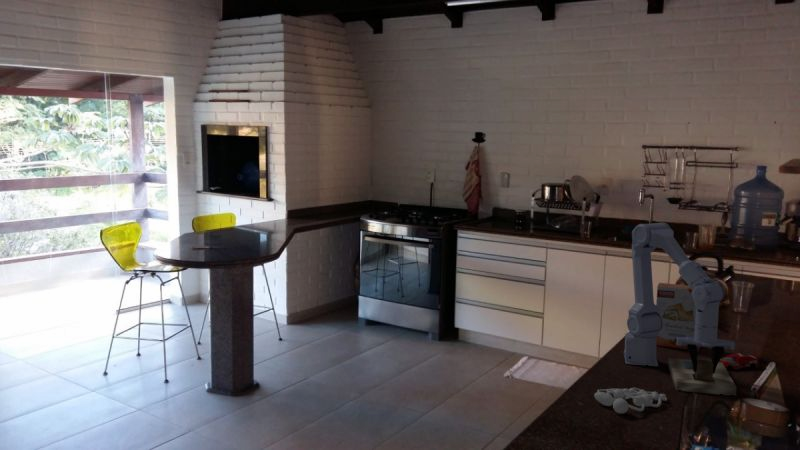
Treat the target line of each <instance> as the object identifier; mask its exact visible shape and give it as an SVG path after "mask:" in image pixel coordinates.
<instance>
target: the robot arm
mask: <svg viewBox="0 0 800 450" xmlns="http://www.w3.org/2000/svg"><path fill="white" fill-rule="evenodd" d="M674 233H675V232H674V230H673V229H672V228H671V227H670V225H669V224H668V223H666V222H655V223H639V224H637V225H636V226H635V227H634V228H633V230H632V231H631V238H632V239H631V240H632V244H631V257H632V258H631V260H632V262H631V263H632V275H633V289H634V290H633V291H634V304H633V305H632V306H631V307H630V308H629V309H628V316H627V321H626V326H627V329H628V331H629V332H625V335H624V336H625V337H624V338H625V339H624V350H623V356H624V362H625V364H626V365H633V366H634V365H635V366H646V365H648V366H647V367H649V366H650V367H659V363H658V360H657V346H658V345H657V335H658V334H659V331H660V330H661V329H662V328H663V319H662V316H661V313H660V308H659V307H657V306H656V303H655V301H654V285H653V283H654V282H653V269H652V253H653V252H654V250H655V249H656V248H658V249H662V250H663V251H664V252H665V253H666V254H667V256H668V257H670V259H671V260H672V261H673V262H674V263H675V264H676V265H677V266H678V274H679V275H680V277H681V278H682V279H683V281H685V283H686V284H687V286H689V287H690V288H691V289H692V290H693V291H692V297H693V299H694V302H695V308H696V315H695V332H694V337H677V345H678V346H681V345H686V346H687V348H688V353H689V356H690V360H692V365H693V371H694V372H696V371H697V358H698V353H699V351H698V350H697V347H696V346H700V348H702V347H703V348H704V347H705V348H711V361H712V363H713V374H715V370H716V367H717V364H718V362H719V361H720V359H721V358H723V356H724V355H725V350H724V349H729V350H733V351H735V346H736V343H735V341H734V340H725V339H720V338H718V325H719V324H718V323H719V310H720V309H719V308H720V302H721V301H722V300H723V299H724V298H725V289H724V287H723V285H722V284H721V282H720V281H717V280H714V279H713V278H711V277H710V276H709V275H708V274H707V273H706V271H705V270H704V269H703V268H702V265H701V264H700V262H697V261H696V260H691V259H690V258H689V257H688V255H687V254H686V253H685V251H684V249H683V248H682V247H681V246H680V244H679V242H678V241H677V240H676V238H675V237H674Z"/></svg>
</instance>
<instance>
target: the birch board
mask: <svg viewBox="0 0 800 450" xmlns="http://www.w3.org/2000/svg"><path fill="white" fill-rule="evenodd" d="M667 366H668V367H667V368H668V370H669V372H670V376H671V379H672V382H673V385H674V387H675V390H676V391H678V390H681V391H680V392H689V393H690V392H691V393H701V394H710V395H711V394H712V395H720V394H723V395H722V396H730V395H735V396H734V397H736V396H737V388H738V387H737V385H736V383H735V382H734V380H733V378H732V377H731V375H730V374H729V371H728V370H726V368H725V366H724V365H723V363H721V362H718V364H717V367H716V370H715V374H713V378H712V382H707V381H696V380H694V373H695V372H694V371H693V365H692V360H691V359H683V358H671V357H670V358H668V363H667Z"/></svg>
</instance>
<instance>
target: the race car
mask: <svg viewBox="0 0 800 450" xmlns="http://www.w3.org/2000/svg"><path fill="white" fill-rule="evenodd" d="M759 361H760V360H759V358H757V357H756V356H753V355H751V354H745V353H740V352H738V353H732V354H729V355H726V356H725V357H721V359H720V361H719V362H721V363H723V365H724V366H725V368H726V370H727V372H729V371H733V370H745V369H750V370H751V369H755V368H758V367H759V366H760V362H759Z"/></svg>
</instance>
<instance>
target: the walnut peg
mask: <svg viewBox="0 0 800 450" xmlns="http://www.w3.org/2000/svg"><path fill="white" fill-rule="evenodd" d="M712 378H713V363H712V358H699V357H697V371H696V372H695V373H694V380H696V381H707V382H712Z"/></svg>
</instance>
